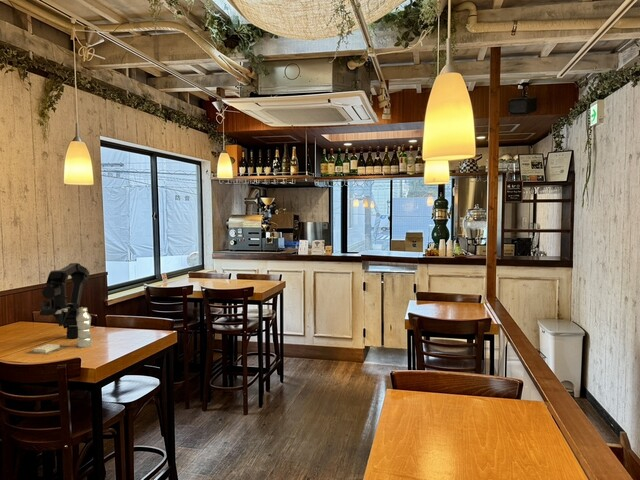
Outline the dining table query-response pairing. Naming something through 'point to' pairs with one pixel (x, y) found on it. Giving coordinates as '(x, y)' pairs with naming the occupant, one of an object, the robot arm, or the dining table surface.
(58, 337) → the dining table surface
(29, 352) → the board
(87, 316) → the plastic bottle
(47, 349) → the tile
